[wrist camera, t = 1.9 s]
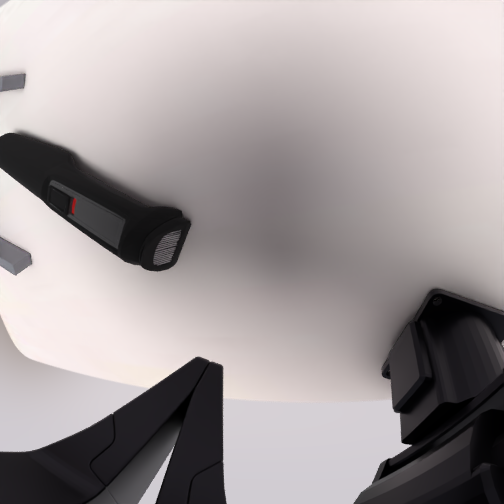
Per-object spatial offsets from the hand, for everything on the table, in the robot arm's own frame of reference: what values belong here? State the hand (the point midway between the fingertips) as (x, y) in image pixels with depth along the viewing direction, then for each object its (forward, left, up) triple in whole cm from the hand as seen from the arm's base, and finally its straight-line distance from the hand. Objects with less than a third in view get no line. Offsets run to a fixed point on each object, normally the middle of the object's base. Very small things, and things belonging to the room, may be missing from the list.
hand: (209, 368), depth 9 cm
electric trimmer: (+12, -1, -8) cm, 14 cm away
